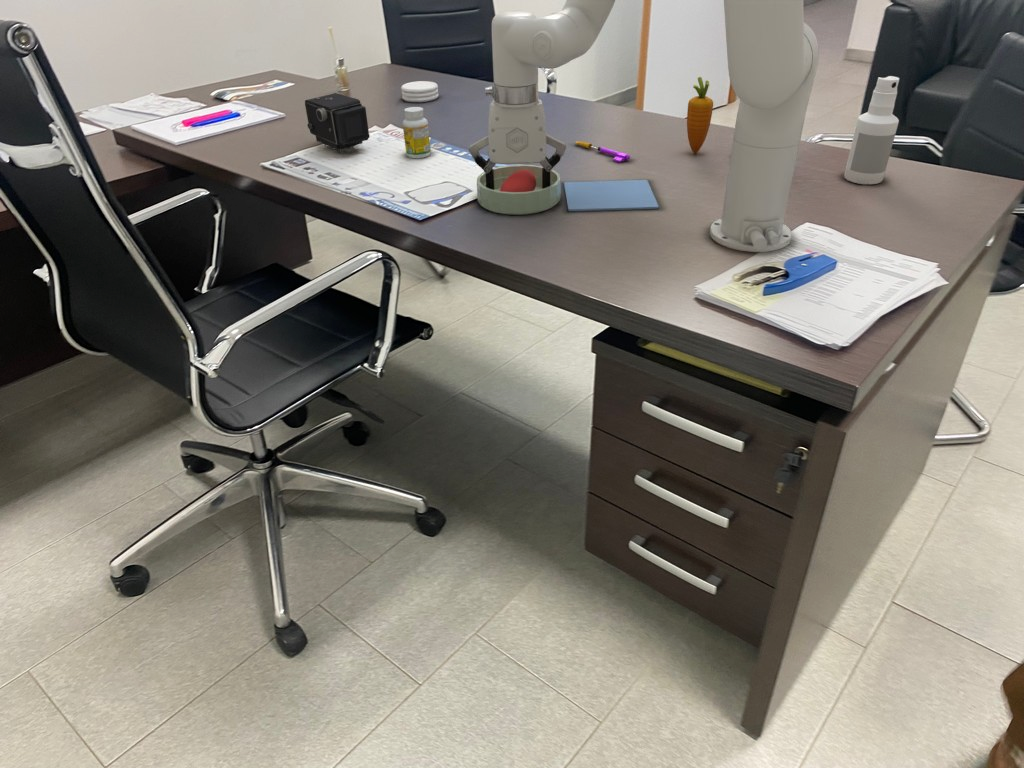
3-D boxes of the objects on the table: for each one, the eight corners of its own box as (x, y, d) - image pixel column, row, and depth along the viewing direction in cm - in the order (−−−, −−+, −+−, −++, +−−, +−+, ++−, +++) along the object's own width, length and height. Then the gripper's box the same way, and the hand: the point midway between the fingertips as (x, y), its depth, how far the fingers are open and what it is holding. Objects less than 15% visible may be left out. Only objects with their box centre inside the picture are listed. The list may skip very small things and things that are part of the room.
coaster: (445, 96, 199) (444, 82, 197) (423, 104, 192) (422, 90, 190) (417, 92, 203) (416, 79, 201) (394, 100, 196) (393, 87, 194)
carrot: (707, 157, 149) (716, 81, 140) (682, 157, 150) (690, 80, 141) (706, 150, 153) (716, 75, 144) (683, 149, 154) (690, 75, 145)
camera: (307, 152, 164) (341, 160, 154) (294, 100, 158) (328, 104, 148) (346, 142, 169) (382, 148, 159) (335, 90, 164) (371, 94, 154)
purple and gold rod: (631, 159, 149) (578, 143, 159) (630, 154, 148) (577, 138, 158) (622, 165, 148) (569, 148, 158) (621, 159, 147) (568, 143, 157)
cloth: (658, 208, 127) (659, 206, 127) (568, 211, 127) (568, 209, 127) (646, 181, 138) (647, 179, 138) (563, 184, 139) (563, 182, 138)
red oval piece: (547, 203, 133) (544, 168, 133) (517, 199, 126) (515, 163, 126) (525, 207, 137) (522, 174, 136) (495, 204, 130) (492, 168, 129)
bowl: (562, 214, 126) (562, 192, 124) (476, 216, 127) (474, 194, 124) (558, 184, 139) (558, 163, 136) (479, 186, 139) (478, 165, 137)
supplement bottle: (433, 156, 155) (428, 110, 149) (408, 159, 154) (403, 113, 148) (428, 149, 159) (423, 104, 154) (404, 152, 158) (398, 107, 152)
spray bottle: (859, 187, 132) (885, 84, 122) (836, 175, 138) (859, 75, 127) (890, 182, 134) (919, 80, 123) (866, 171, 139) (892, 72, 129)
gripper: (464, 100, 119) (470, 200, 129) (568, 97, 119) (566, 197, 129) (466, 89, 125) (472, 185, 135) (565, 87, 125) (564, 183, 135)
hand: (518, 191), depth 132 cm, fingers open, 9 cm apart
